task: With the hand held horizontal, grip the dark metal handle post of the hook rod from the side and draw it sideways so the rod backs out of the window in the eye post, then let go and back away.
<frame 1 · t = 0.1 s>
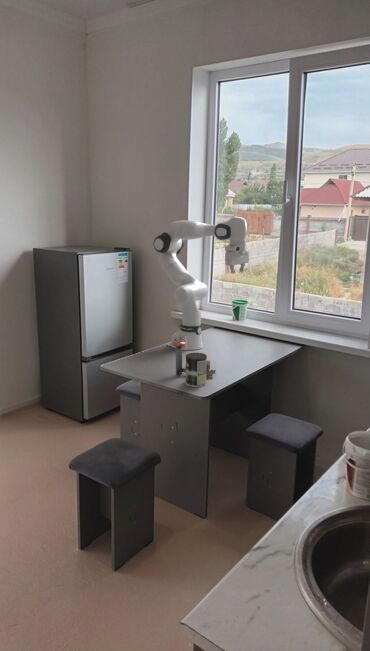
hand: (237, 272, 274), 48 cm above the table, tool pointing down, fingers open, 8 cm apart
coffee can: (196, 383, 242), on the table
eye post: (205, 375, 252), on the table
hook rod: (194, 358, 251), point 9 cm above the table, slide at 0.0 cm
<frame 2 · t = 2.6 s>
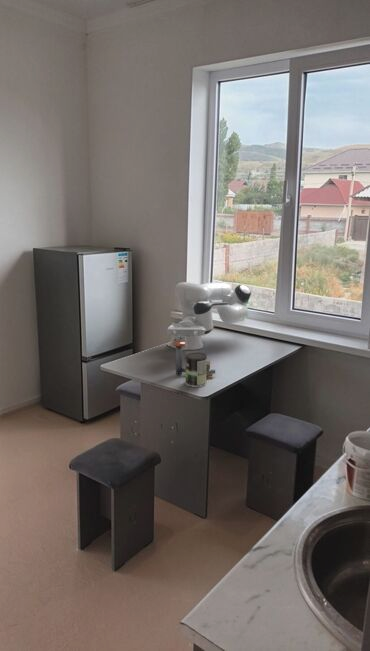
hand: (184, 334, 261), 18 cm above the table, tool horizontal, fingers open, 8 cm apart
nothing on the table moved.
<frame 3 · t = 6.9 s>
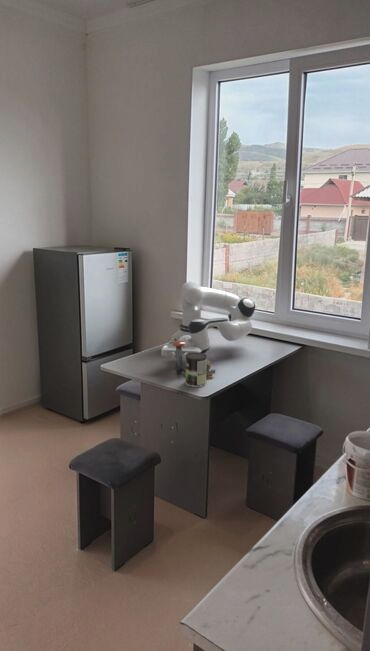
hand: (178, 356, 251), 10 cm above the table, tool horizontal, fingers closed on hook rod, 3 cm apart
hook rod: (193, 358, 251), point 9 cm above the table, slide at 0.0 cm, touching gripper
everything else where it was.
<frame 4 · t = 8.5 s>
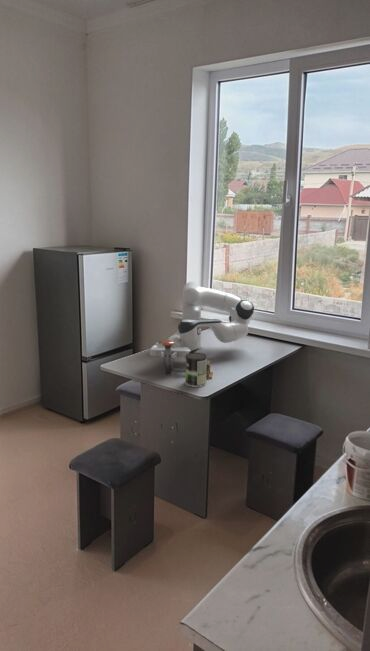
hand: (167, 356, 251), 10 cm above the table, tool horizontal, fingers closed on hook rod, 3 cm apart
hook rod: (183, 358, 252), point 9 cm above the table, slide at 5.6 cm, touching gripper
everything else where it was.
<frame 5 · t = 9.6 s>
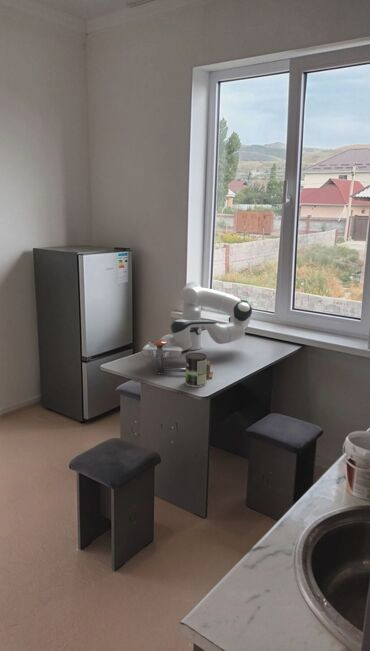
hand: (159, 355, 252), 10 cm above the table, tool horizontal, fingers closed on hook rod, 3 cm apart
hook rod: (174, 358, 252), point 9 cm above the table, slide at 9.8 cm, touching gripper
everything else where it was.
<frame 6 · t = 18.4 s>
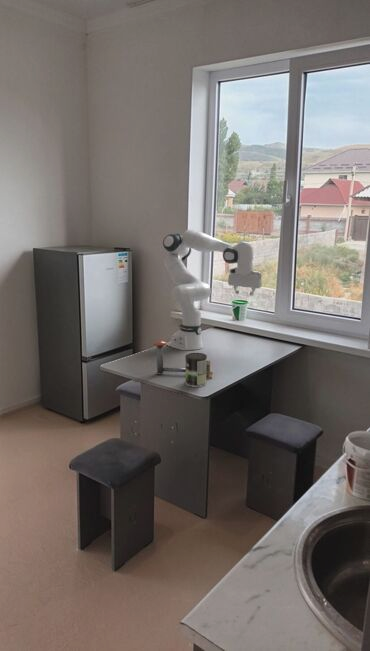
hand: (244, 294, 286), 34 cm above the table, tool pointing down, fingers open, 8 cm apart
hook rod: (174, 358, 252), point 9 cm above the table, slide at 9.8 cm
everything else where it was.
at the end: hook rod slide at 9.8 cm; the gripper is holding nothing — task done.
